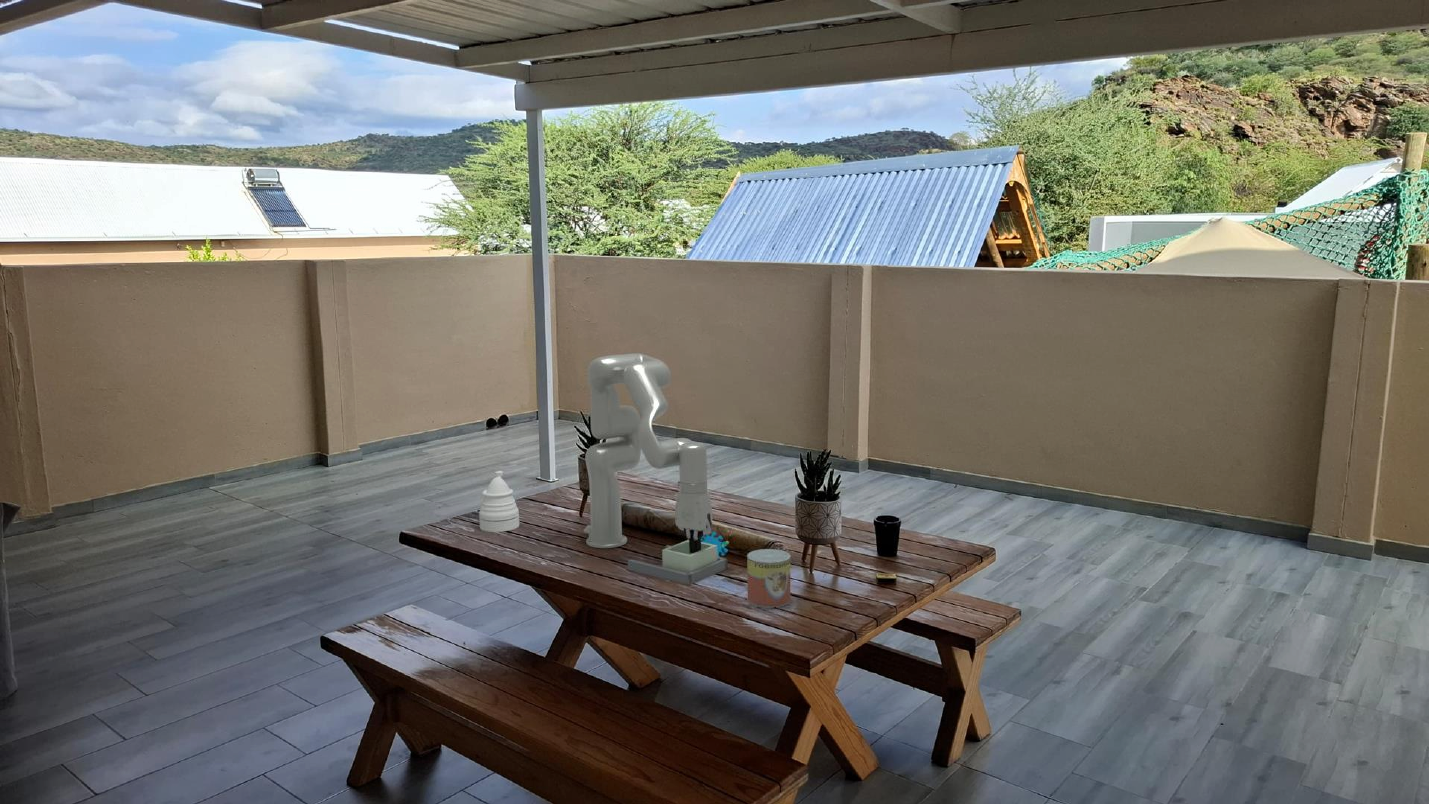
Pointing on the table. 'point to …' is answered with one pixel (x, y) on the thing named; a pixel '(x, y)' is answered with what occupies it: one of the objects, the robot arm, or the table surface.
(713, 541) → the gear
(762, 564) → the canned food
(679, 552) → the box
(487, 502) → the honey pot
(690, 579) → the bay
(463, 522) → the table surface
